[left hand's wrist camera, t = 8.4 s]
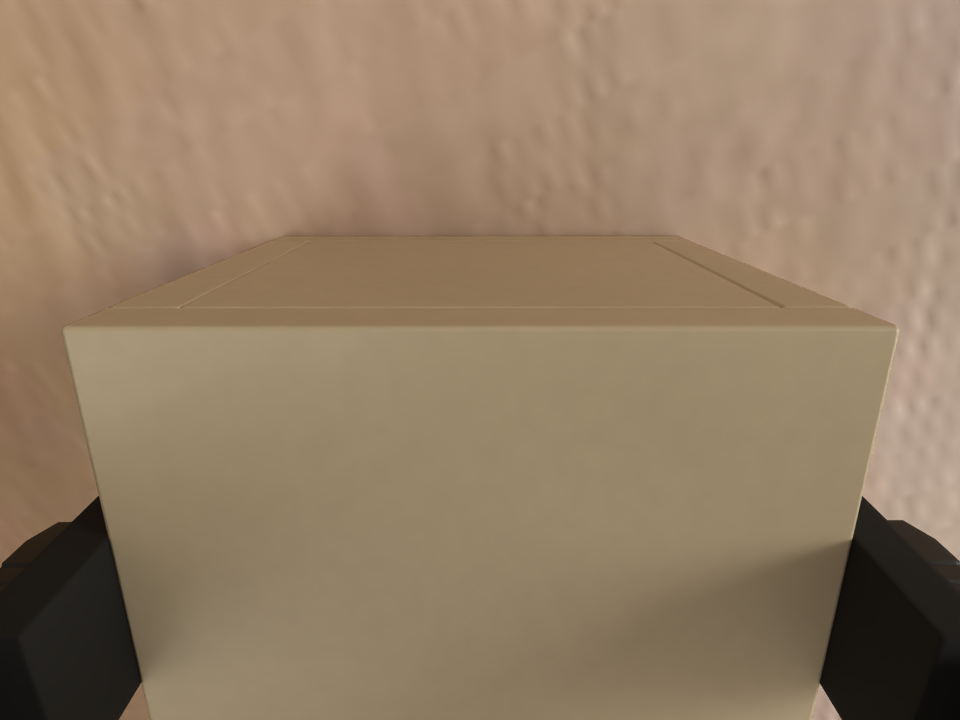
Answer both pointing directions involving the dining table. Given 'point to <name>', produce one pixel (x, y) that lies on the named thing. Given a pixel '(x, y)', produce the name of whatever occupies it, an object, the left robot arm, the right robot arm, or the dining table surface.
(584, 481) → the cabinet
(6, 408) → the dining table surface
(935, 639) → the left robot arm
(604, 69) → the dining table surface
